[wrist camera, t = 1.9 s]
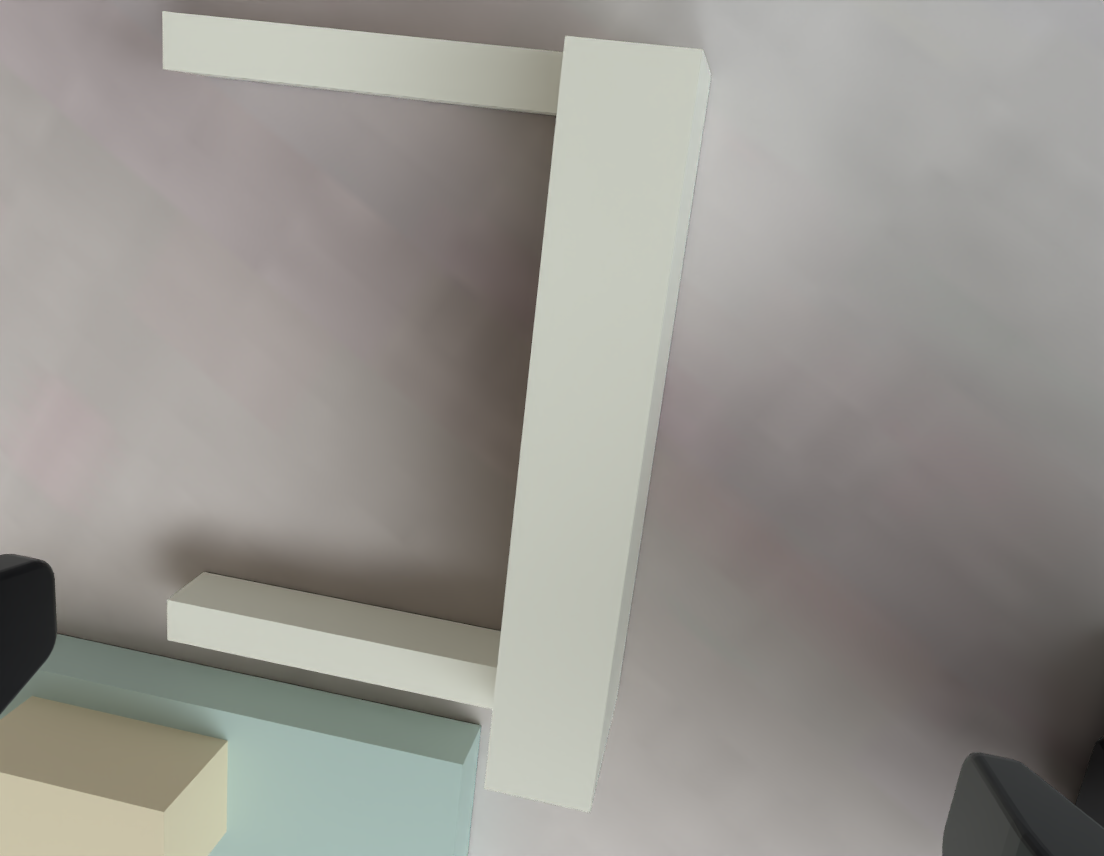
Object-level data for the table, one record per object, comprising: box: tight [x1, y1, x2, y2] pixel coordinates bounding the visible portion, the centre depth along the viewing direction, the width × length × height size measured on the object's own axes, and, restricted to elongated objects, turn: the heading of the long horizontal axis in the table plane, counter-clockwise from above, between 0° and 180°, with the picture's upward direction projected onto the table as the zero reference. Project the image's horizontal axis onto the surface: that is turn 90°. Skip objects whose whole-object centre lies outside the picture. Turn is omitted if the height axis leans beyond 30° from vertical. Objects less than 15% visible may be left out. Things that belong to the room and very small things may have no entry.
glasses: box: [162, 11, 711, 813], centre depth 18 cm, size 10×13×4 cm
